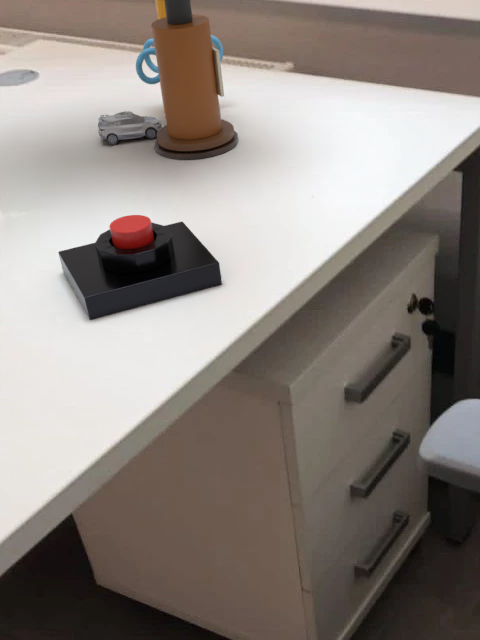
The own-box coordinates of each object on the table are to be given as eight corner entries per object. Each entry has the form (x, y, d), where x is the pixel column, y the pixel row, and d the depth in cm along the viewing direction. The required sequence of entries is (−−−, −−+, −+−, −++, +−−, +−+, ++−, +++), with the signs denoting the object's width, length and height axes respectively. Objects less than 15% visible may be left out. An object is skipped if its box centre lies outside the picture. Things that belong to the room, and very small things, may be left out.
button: (119, 255, 76) (115, 236, 75) (108, 239, 78) (104, 220, 77) (159, 245, 77) (156, 226, 76) (147, 229, 79) (144, 211, 78)
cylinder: (224, 125, 111) (209, -7, 101) (142, 130, 111) (119, -1, 102) (230, 94, 120) (216, -29, 111) (154, 99, 121) (134, -23, 111)
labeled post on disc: (171, 157, 101) (142, -31, 89) (148, 134, 108) (117, -44, 96) (246, 140, 104) (227, -44, 92) (219, 119, 110) (198, -56, 98)
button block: (90, 321, 75) (79, 278, 72) (63, 273, 82) (53, 232, 79) (222, 285, 78) (216, 243, 76) (185, 242, 85) (179, 202, 83)
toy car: (166, 137, 109) (162, 112, 107) (101, 147, 107) (96, 122, 105) (162, 127, 112) (158, 103, 110) (99, 137, 110) (94, 113, 108)
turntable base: (170, 166, 101) (169, 160, 101) (145, 140, 108) (144, 135, 108) (251, 148, 104) (250, 142, 104) (221, 124, 111) (220, 119, 111)
